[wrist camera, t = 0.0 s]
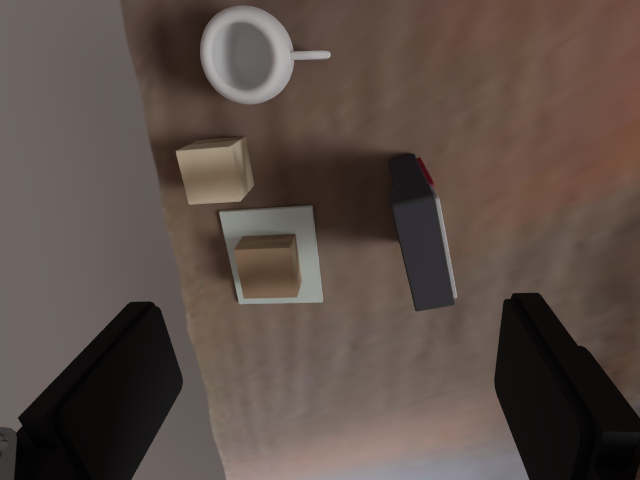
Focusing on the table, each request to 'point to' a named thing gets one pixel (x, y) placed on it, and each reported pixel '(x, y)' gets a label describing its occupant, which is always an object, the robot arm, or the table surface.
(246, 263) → the walnut block
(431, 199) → the black upright slab
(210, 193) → the maple cube
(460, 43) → the table surface
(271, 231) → the board
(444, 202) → the table surface
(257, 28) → the mug
